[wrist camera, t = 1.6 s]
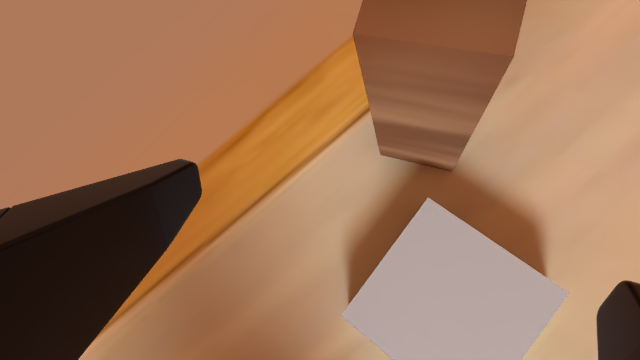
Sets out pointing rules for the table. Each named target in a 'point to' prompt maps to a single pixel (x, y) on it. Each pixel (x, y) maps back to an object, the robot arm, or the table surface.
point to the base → (452, 295)
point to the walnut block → (433, 71)
